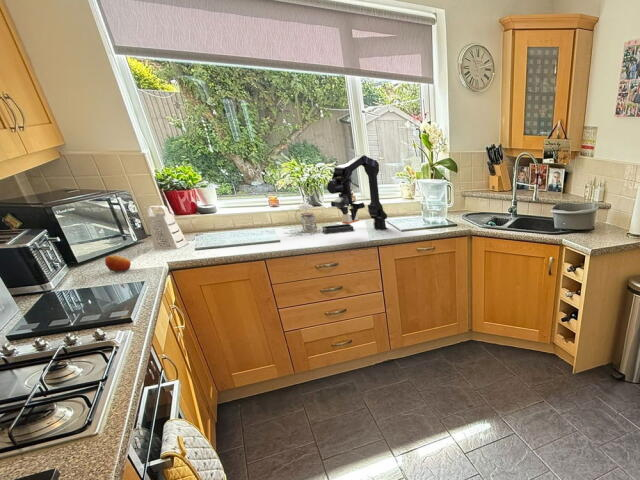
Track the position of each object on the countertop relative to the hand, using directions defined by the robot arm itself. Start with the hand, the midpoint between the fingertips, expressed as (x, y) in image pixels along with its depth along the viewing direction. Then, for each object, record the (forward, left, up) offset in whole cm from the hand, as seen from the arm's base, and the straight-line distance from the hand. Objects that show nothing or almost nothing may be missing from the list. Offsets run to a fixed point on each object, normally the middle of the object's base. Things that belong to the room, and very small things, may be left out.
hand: (350, 220), depth 235 cm
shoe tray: (+3, -21, -10) cm, 24 cm away
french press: (+18, -30, -10) cm, 37 cm away
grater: (+86, -26, -10) cm, 90 cm away
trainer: (0, 0, -1) cm, 1 cm away
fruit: (+103, +12, -10) cm, 104 cm away
